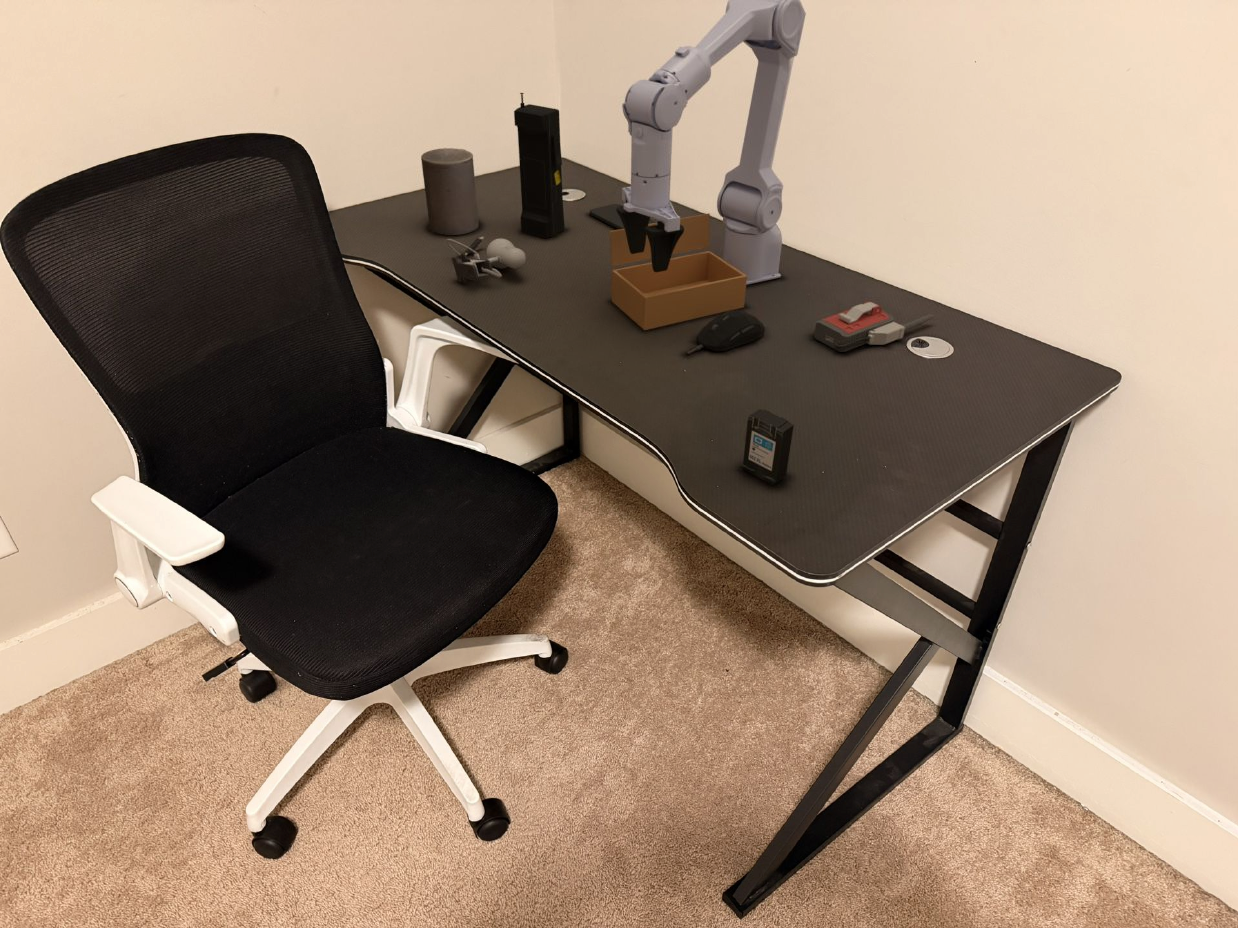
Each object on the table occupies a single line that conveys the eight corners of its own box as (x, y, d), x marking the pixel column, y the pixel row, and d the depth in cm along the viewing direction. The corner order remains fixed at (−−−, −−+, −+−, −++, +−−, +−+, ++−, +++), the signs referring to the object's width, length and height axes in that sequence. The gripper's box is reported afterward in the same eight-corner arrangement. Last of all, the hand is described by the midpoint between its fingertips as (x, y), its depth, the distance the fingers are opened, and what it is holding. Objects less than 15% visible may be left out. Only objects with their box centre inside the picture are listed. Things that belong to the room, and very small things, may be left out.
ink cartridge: (741, 469, 106) (747, 414, 101) (752, 461, 107) (759, 406, 102) (774, 486, 103) (782, 430, 98) (785, 478, 104) (794, 423, 99)
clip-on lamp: (439, 274, 158) (473, 291, 143) (429, 240, 155) (462, 253, 140) (498, 256, 162) (536, 270, 147) (489, 222, 159) (527, 233, 145)
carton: (644, 330, 135) (645, 297, 132) (611, 301, 143) (611, 270, 140) (744, 307, 142) (747, 275, 138) (707, 280, 150) (709, 250, 147)
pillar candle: (419, 231, 167) (409, 152, 158) (446, 215, 174) (437, 138, 166) (463, 239, 164) (455, 158, 155) (488, 222, 172) (482, 144, 163)
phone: (617, 203, 178) (661, 224, 168) (617, 207, 179) (661, 228, 169) (587, 210, 175) (630, 232, 165) (587, 214, 175) (630, 236, 165)
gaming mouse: (673, 346, 131) (674, 322, 128) (743, 319, 138) (746, 296, 136) (701, 363, 127) (702, 338, 124) (772, 334, 134) (775, 311, 132)
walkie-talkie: (847, 362, 127) (935, 327, 136) (852, 335, 124) (941, 301, 134) (804, 339, 133) (891, 306, 142) (808, 313, 130) (897, 281, 140)
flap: (610, 231, 137) (609, 231, 137) (612, 266, 139) (611, 266, 140) (709, 213, 143) (708, 213, 144) (709, 247, 146) (709, 247, 146)
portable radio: (571, 230, 168) (567, 94, 153) (552, 240, 164) (547, 101, 149) (538, 222, 171) (532, 88, 157) (519, 232, 167) (511, 95, 153)
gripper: (603, 161, 128) (604, 248, 136) (649, 191, 117) (647, 284, 125) (646, 155, 130) (644, 241, 138) (694, 183, 120) (689, 275, 128)
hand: (648, 261), depth 132 cm, fingers open, 7 cm apart
